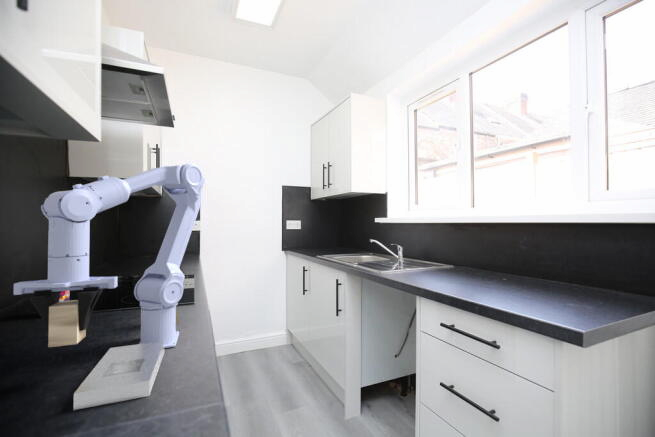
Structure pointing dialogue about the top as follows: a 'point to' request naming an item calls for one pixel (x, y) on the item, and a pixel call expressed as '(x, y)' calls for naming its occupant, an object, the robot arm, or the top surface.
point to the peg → (64, 324)
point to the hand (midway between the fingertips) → (68, 330)
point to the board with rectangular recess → (121, 375)
